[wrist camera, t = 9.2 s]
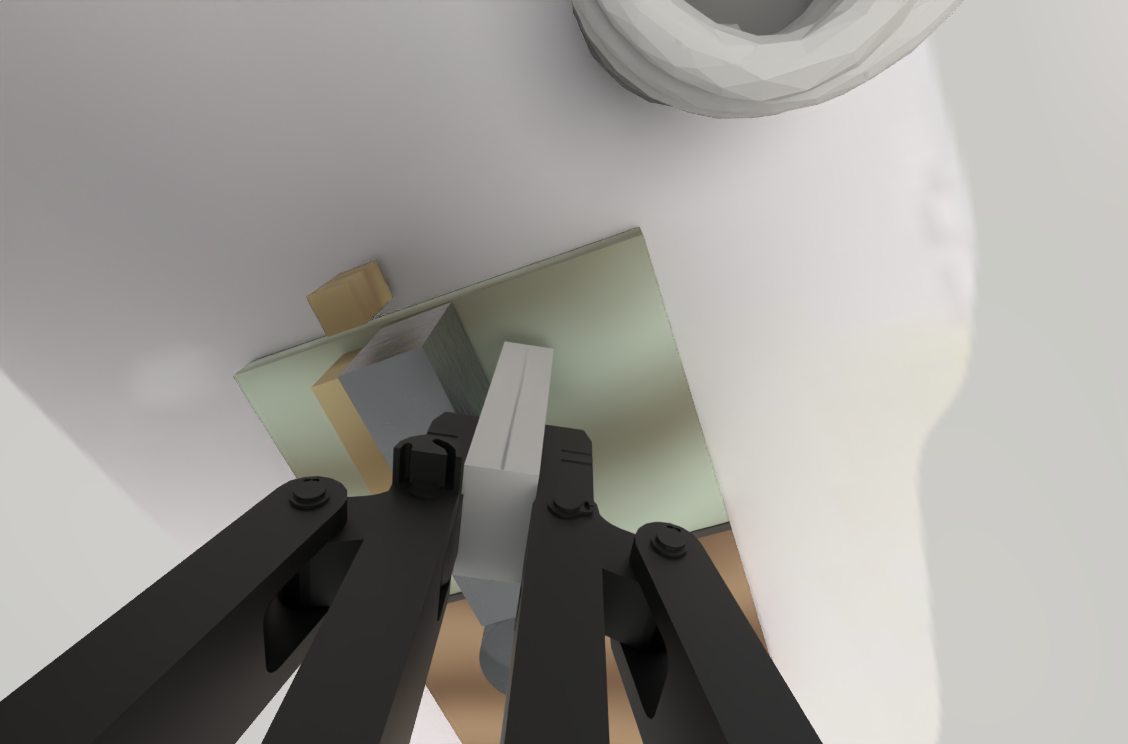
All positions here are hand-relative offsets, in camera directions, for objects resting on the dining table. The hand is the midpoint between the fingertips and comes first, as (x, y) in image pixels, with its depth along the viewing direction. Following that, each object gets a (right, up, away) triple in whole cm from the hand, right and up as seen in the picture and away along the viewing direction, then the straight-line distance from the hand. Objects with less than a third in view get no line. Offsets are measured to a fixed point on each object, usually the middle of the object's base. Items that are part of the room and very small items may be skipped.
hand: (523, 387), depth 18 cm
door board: (+1, -7, +6) cm, 9 cm away
